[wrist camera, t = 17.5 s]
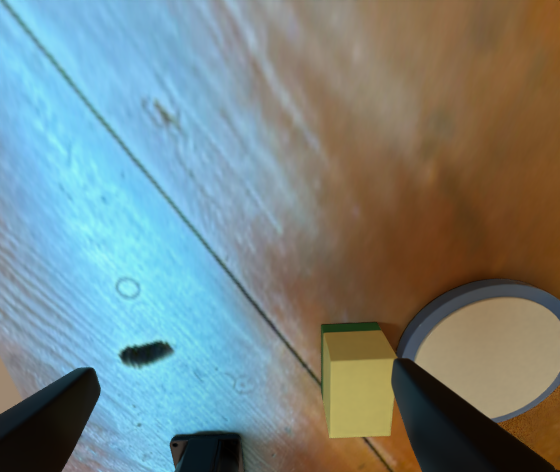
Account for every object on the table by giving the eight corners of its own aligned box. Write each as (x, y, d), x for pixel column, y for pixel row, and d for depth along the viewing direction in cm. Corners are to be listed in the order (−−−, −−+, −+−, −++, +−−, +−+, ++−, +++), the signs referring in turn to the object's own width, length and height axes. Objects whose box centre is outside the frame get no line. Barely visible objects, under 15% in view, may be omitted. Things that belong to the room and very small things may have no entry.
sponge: (372, 390, 23) (390, 436, 19) (321, 392, 23) (329, 438, 19) (377, 321, 21) (398, 358, 17) (321, 324, 21) (330, 361, 17)
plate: (541, 413, 24) (555, 426, 23) (388, 419, 24) (394, 432, 23) (587, 274, 20) (605, 281, 19) (402, 282, 20) (410, 290, 19)
